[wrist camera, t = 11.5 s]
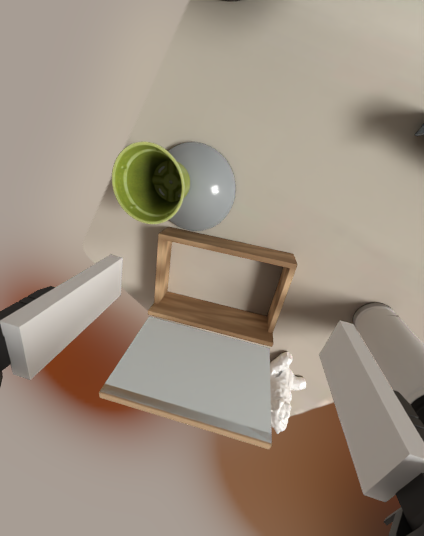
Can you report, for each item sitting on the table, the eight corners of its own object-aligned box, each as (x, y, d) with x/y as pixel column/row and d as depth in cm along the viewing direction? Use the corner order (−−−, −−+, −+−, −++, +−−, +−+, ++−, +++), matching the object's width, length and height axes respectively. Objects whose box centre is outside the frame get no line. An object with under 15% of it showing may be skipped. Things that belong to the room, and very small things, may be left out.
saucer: (158, 135, 34) (156, 135, 33) (244, 151, 33) (243, 150, 32) (154, 220, 40) (151, 222, 39) (226, 236, 38) (226, 238, 37)
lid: (98, 392, 27) (99, 397, 28) (271, 445, 25) (269, 449, 26) (149, 316, 39) (149, 320, 40) (269, 347, 37) (267, 352, 37)
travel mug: (393, 297, 37) (516, 419, 19) (394, 329, 40) (505, 465, 22) (350, 303, 39) (428, 420, 21) (354, 334, 41) (426, 462, 23)
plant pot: (131, 178, 36) (97, 182, 29) (170, 131, 33) (142, 121, 25) (172, 223, 38) (150, 238, 30) (213, 183, 34) (200, 189, 27)
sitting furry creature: (307, 381, 48) (321, 443, 37) (269, 390, 51) (272, 450, 40) (289, 349, 46) (298, 405, 35) (250, 360, 49) (247, 415, 38)
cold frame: (168, 226, 40) (151, 238, 33) (293, 254, 37) (300, 271, 31) (163, 293, 46) (147, 314, 39) (270, 320, 44) (271, 346, 37)
